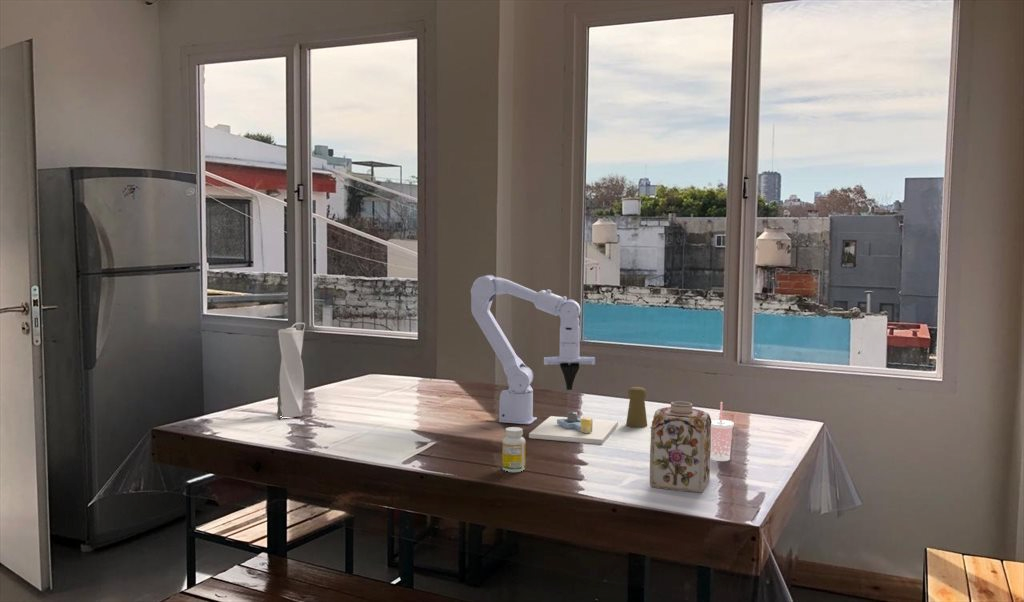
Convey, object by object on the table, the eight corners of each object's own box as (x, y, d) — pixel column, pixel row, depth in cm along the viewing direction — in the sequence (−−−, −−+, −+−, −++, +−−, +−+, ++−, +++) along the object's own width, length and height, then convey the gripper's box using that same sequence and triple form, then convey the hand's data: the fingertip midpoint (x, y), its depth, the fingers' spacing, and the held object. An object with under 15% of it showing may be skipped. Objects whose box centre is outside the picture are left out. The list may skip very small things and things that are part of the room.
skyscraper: (305, 412, 251) (304, 320, 248) (308, 418, 243) (306, 323, 241) (277, 414, 248) (275, 321, 246) (278, 420, 240) (276, 324, 238)
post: (566, 431, 229) (566, 413, 228) (568, 428, 231) (568, 411, 231) (576, 431, 228) (576, 414, 228) (578, 429, 231) (578, 411, 230)
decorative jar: (648, 487, 179) (649, 405, 177) (658, 473, 190) (660, 395, 188) (704, 494, 175) (706, 410, 173) (711, 478, 186) (713, 399, 184)
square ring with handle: (556, 423, 231) (557, 411, 231) (577, 421, 234) (577, 409, 233) (577, 433, 220) (578, 421, 219) (599, 431, 222) (599, 419, 222)
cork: (646, 428, 233) (647, 389, 232) (625, 427, 234) (626, 388, 233) (647, 423, 239) (648, 385, 238) (626, 422, 240) (627, 384, 239)
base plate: (528, 438, 221) (528, 433, 221) (550, 420, 242) (550, 416, 242) (602, 444, 215) (602, 439, 215) (618, 425, 236) (618, 421, 236)
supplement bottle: (515, 474, 188) (515, 433, 187) (497, 469, 192) (497, 429, 191) (530, 469, 192) (530, 428, 192) (512, 464, 196) (512, 425, 195)
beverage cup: (737, 460, 200) (739, 403, 199) (715, 462, 198) (716, 405, 197) (724, 454, 206) (725, 398, 205) (702, 456, 204) (703, 400, 203)
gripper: (545, 344, 232) (545, 392, 233) (596, 344, 232) (596, 391, 234) (543, 341, 239) (543, 387, 240) (593, 340, 239) (592, 387, 241)
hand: (569, 389), depth 237 cm, fingers closed
